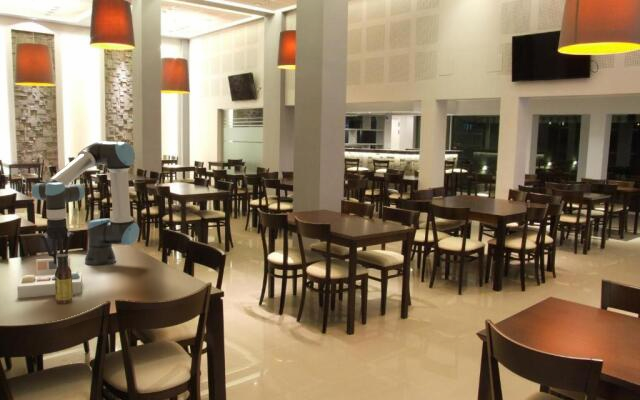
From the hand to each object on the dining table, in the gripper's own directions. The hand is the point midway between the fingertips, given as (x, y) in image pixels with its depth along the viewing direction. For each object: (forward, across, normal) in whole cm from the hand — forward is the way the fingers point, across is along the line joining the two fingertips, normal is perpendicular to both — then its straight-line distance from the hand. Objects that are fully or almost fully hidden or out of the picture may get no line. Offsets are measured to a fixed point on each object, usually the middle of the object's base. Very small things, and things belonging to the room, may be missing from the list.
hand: (59, 270), depth 230 cm
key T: (+5, +12, 0) cm, 13 cm away
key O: (+7, 0, +1) cm, 7 cm away
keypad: (+8, +3, 0) cm, 9 cm away
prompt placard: (+9, +3, -12) cm, 15 cm away
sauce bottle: (+8, -3, +20) cm, 21 cm away
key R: (+5, -5, 0) cm, 8 cm away
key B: (+7, +6, +1) cm, 9 cm away
